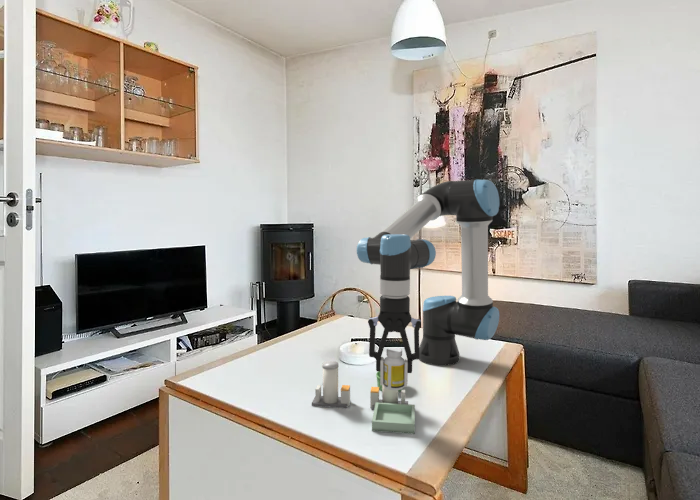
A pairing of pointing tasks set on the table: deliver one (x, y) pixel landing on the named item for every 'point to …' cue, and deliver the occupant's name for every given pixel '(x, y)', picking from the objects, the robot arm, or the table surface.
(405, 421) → the tray
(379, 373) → the ramekin
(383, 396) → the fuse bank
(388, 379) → the supplement bottle
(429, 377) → the table surface
